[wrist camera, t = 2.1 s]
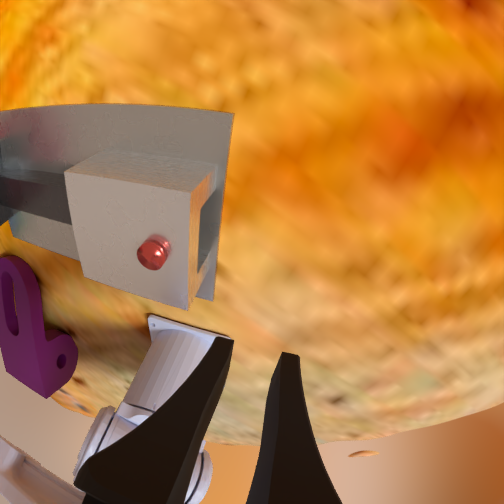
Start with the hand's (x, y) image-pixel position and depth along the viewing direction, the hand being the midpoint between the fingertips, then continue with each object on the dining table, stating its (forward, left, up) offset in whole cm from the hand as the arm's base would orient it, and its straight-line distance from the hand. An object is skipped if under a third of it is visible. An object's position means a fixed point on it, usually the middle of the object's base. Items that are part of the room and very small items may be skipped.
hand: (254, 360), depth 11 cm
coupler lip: (0, +16, -9) cm, 19 cm away
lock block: (0, +9, -9) cm, 12 cm away
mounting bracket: (-19, +29, -10) cm, 36 cm away
